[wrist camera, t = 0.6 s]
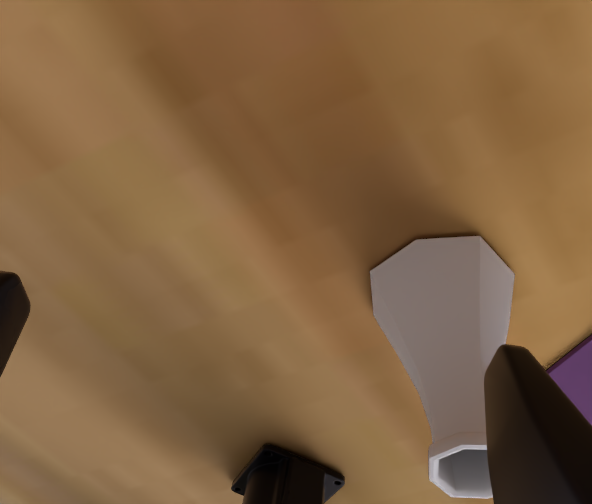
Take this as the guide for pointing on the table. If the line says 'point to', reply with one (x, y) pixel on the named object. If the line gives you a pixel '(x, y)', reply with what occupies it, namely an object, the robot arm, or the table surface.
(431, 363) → the flask
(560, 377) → the cloth
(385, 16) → the table surface
